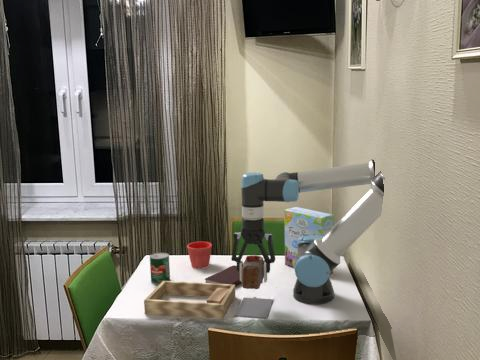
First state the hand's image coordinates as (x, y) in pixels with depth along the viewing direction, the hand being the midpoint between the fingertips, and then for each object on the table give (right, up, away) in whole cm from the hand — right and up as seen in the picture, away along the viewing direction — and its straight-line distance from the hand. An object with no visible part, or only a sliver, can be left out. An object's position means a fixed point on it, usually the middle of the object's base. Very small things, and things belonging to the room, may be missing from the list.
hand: (253, 280), depth 182 cm
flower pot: (-23, -3, +49) cm, 54 cm away
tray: (-22, -10, +5) cm, 25 cm away
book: (-8, -6, +30) cm, 32 cm away
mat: (0, -10, +2) cm, 10 cm away
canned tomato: (-38, -6, +31) cm, 49 cm away
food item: (0, -1, 0) cm, 1 cm away
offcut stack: (-13, -10, +3) cm, 17 cm away
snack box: (+25, -3, +41) cm, 48 cm away
